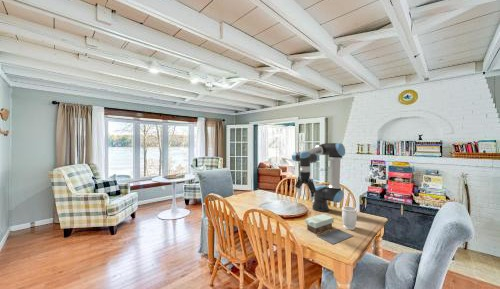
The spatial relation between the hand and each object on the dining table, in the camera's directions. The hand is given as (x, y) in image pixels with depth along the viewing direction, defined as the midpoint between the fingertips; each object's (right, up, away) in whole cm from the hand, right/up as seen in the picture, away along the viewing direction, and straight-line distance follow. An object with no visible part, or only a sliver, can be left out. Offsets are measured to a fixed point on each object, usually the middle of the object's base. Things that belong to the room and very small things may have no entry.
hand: (305, 198), depth 159 cm
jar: (+34, -22, -1) cm, 41 cm away
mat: (+17, -23, -15) cm, 32 cm away
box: (+10, -23, -3) cm, 25 cm away
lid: (+10, -18, -3) cm, 21 cm away
